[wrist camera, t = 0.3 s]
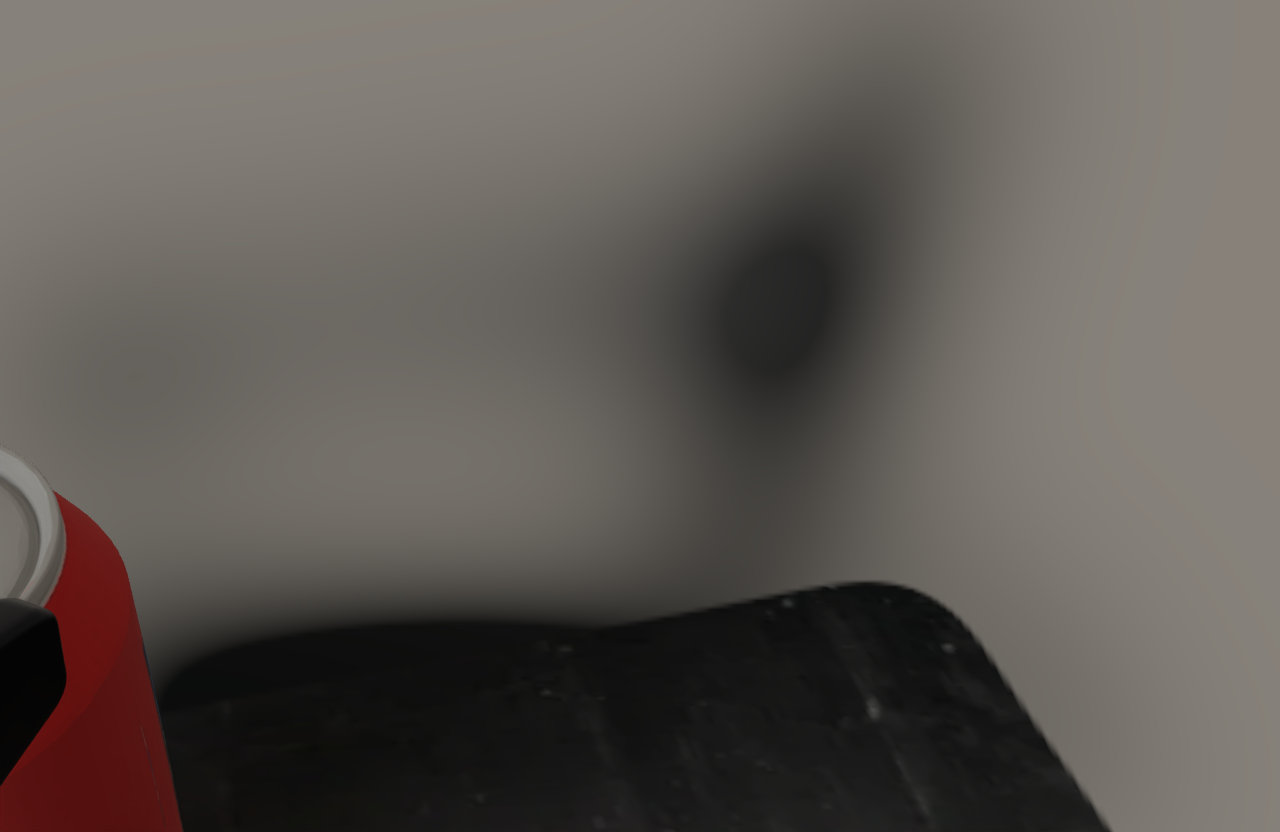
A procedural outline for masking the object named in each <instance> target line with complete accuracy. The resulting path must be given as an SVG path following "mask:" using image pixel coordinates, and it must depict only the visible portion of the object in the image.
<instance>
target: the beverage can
mask: <svg viewBox="0 0 1280 832" xmlns="http://www.w3.org/2000/svg"><path fill="white" fill-rule="evenodd" d="M2 598H18V599H21V600H24V601H27V602H30V603H32V604H35V605H38V606H40V607H43V608H46V609H48V610H50V611H51V612H52V613H53V614H54V615H55V616H56V618H57V621H58V625H59V631H60V637H61V643H62V649H63V655H64V660H65V666H66V672H67V681H66V687H65V690H64V693H63V696H62V698H61V700H60V702H59V704H58V705H57V707H56V708H55V710H54V711H53V713H52V714H51V715H50V717H49V718H48V720H47V721H46V723H45V724H44V725H43V727H42V728H41V730H40V731H39V732H38V734H37V735H36V737H35V738H34V740H33V741H32V742H31V744H30V745H29V747H28V748H27V750H26V751H25V752H24V754H23V755H22V757H21V758H20V759H19V761H18V762H17V764H16V765H15V767H14V768H13V769H12V771H11V772H10V774H9V775H8V776H7V778H6V779H5V781H4V782H3V784H2V785H1V786H0V832H184V830H183V825H182V820H181V815H180V810H179V805H178V800H177V795H176V790H175V785H174V780H173V775H172V770H171V765H170V760H169V756H168V751H167V747H166V742H165V737H164V733H163V728H162V724H161V719H160V715H159V710H158V706H157V701H156V697H155V692H154V688H153V683H152V678H151V673H150V669H149V664H148V660H147V655H146V651H145V647H144V643H143V638H142V634H141V630H140V626H139V621H138V617H137V613H136V609H135V605H134V600H133V595H132V591H131V588H130V583H129V578H128V575H127V571H126V568H125V565H124V562H123V560H122V558H121V556H120V555H119V552H118V550H117V549H116V547H115V546H114V544H113V543H112V541H111V540H110V538H109V537H108V536H107V535H106V534H105V533H104V531H103V530H102V529H101V528H100V527H99V526H98V525H97V524H96V523H95V522H94V521H93V520H92V519H91V518H90V517H89V516H88V515H87V514H85V513H84V512H83V511H81V510H80V509H79V508H77V507H76V506H75V505H73V504H72V503H70V502H69V501H68V500H66V499H65V498H63V497H62V496H61V495H59V494H58V493H56V492H55V491H54V490H52V488H51V486H50V484H49V483H48V481H47V480H46V478H45V477H44V476H43V475H42V474H41V472H40V471H39V470H38V469H37V468H36V467H35V466H33V465H32V464H31V463H30V462H29V461H28V460H26V459H25V458H24V457H22V456H21V455H20V454H18V453H16V452H14V451H13V450H11V449H9V448H7V447H5V446H3V445H1V444H0V599H2Z"/></svg>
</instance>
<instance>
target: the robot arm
mask: <svg viewBox="0 0 1280 832" xmlns="http://www.w3.org/2000/svg"><path fill="white" fill-rule="evenodd" d="M66 681H67V672H66V666H65V660H64V655H63V649H62V643H61V637H60V631H59V625H58V621H57V618H56V616H55V615H54V614H53V613H52V612H51V611H50V610H48V609H46V608H43V607H40V606H38V605H35V604H32V603H30V602H27V601H24V600H21V599H18V598H2V599H0V786H1V785H2V784H3V782H4V781H5V779H6V778H7V776H8V775H9V774H10V772H11V771H12V769H13V768H14V767H15V765H16V764H17V762H18V761H19V759H20V758H21V757H22V755H23V754H24V752H25V751H26V750H27V748H28V747H29V745H30V744H31V742H32V741H33V740H34V738H35V737H36V735H37V734H38V732H39V731H40V730H41V728H42V727H43V725H44V724H45V723H46V721H47V720H48V718H49V717H50V715H51V714H52V713H53V711H54V710H55V708H56V707H57V705H58V704H59V702H60V700H61V698H62V696H63V693H64V690H65V687H66Z"/></svg>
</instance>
